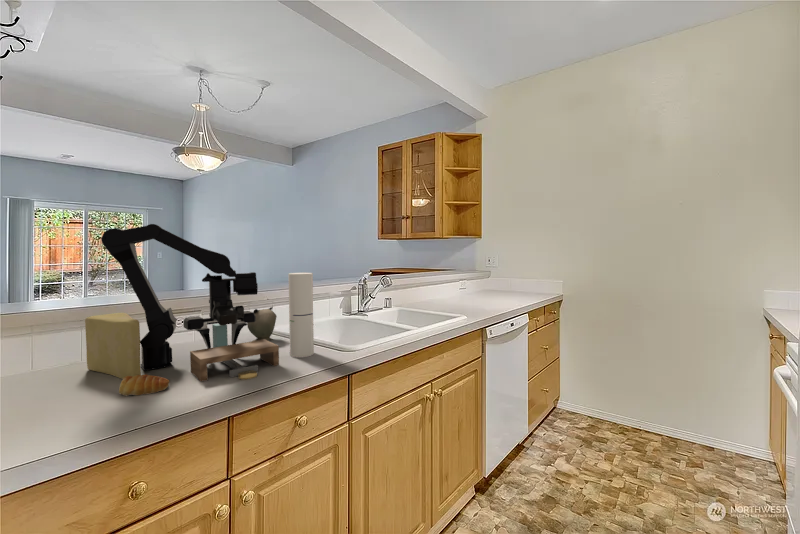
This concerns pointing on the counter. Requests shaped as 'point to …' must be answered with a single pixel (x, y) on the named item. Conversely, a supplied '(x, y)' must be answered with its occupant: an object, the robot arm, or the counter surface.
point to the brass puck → (247, 374)
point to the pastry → (142, 384)
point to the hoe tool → (222, 340)
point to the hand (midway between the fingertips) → (221, 348)
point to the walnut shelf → (232, 355)
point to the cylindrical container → (301, 314)
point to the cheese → (113, 344)
